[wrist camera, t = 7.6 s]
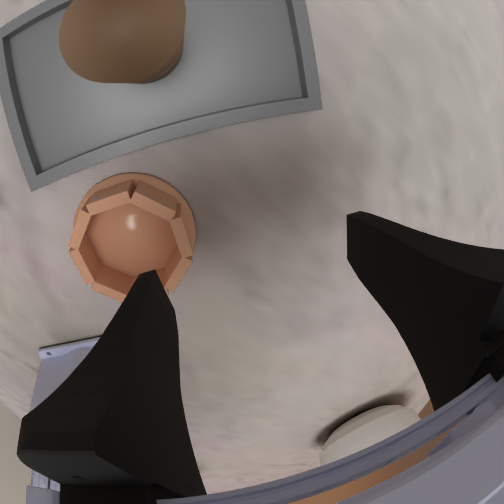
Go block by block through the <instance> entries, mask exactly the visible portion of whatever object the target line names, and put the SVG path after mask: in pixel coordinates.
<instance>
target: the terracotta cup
mask: <svg viewBox="0 0 504 504" xmlns="http://www.w3.org/2000/svg"><path fill="white" fill-rule="evenodd" d="M195 239H196V229H195V222H194V217H193V214H192V211H191V209H190V207H189V205H188V203H187V202H186V200H185V199H184V198H183V196H182V195H181V194H180V193H179V192H178V191H177V190H176V189H175V188H174V187H172V186H171V185H170V184H168V183H167V182H165V181H163V180H161V179H159V178H157V177H154V176H151V175H147V174H142V173H123V174H118V175H114V176H111V177H109V178H106V179H104V180H102V181H101V182H99V183H98V184H96V185H95V186H94V187H93V188H91V189H90V191H89V192H88V193H87V194H86V195H85V197H84V198H83V200H82V201H81V203H80V204H79V207H78V209H77V211H76V215H75V219H74V230H73V233H72V236H71V239H70V242H69V245H68V246H69V247H71V249H70V251H69V253H70V255H71V257H72V259H73V261H74V263H75V265H76V267H77V269H78V270H79V272H80V274H81V276H82V278H83V280H84V281H85V283H86V285H88V284H92V283H93V285H92V288H91V289H92V290H95V291H97V292H99V293H102V294H104V295H106V296H109V297H111V298H114V299H116V300H119V301H121V302H123V301H124V299H125V297H126V296H127V294H128V292H129V291H130V289H131V287H132V285H133V284H134V282H135V280H136V279H137V277H138V276H139V274H141V273H144V272H148V271H151V270H154V269H156V272H157V274H158V276H159V278H160V280H161V283H162V285H163V287H164V289H165V291H166V293H167V295H169V290H171V291H174V290H175V288H176V287H177V285H178V283H179V282H180V280H181V279H182V277H183V275H184V274H185V272H186V271H187V269H188V268H189V266H190V264H191V263H192V255H193V249H194V245H195ZM168 289H169V290H168Z"/></svg>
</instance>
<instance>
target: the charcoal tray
mask: <svg viewBox="0 0 504 504" xmlns="http://www.w3.org/2000/svg"><path fill="white" fill-rule="evenodd" d="M72 1H73V0H46V1H44V2H43V3H41V4H39V5H37V6H35V7H33V8H32V9H30V10H28V11H27V12H25V13H23V14H22V15H20V16H18V17H17V18H15V19H13V20H12V21H10V22H9V23H7V24H6V25H4V26H3V27H1V28H0V93H1V97H2V102H3V106H4V110H5V114H6V118H7V121H8V125H9V128H10V132H11V135H12V139H13V142H14V145H15V148H16V151H17V154H18V157H19V160H20V163H21V166H22V169H23V171H24V174H25V177H26V179H27V182H28V185H29V187H30V190H31V192H32V191H34V190H37V189H39V188H41V187H43V186H45V185H48V184H50V183H52V182H54V181H57V180H59V179H61V178H64V177H66V176H68V175H71V174H73V173H76V172H78V171H81V170H83V169H86V168H88V167H91V166H93V165H96V164H99V163H101V162H104V161H107V160H110V159H112V158H115V157H118V156H121V155H124V154H127V153H130V152H133V151H136V150H139V149H142V148H145V147H148V146H152V145H155V144H158V143H162V142H165V141H168V140H172V139H176V138H179V137H183V136H186V135H190V134H194V133H198V132H202V131H206V130H210V129H214V128H219V127H223V126H227V125H232V124H237V123H241V122H246V121H251V120H257V119H262V118H267V117H273V116H279V115H285V114H292V113H298V112H305V111H313V110H321V109H322V102H321V94H320V86H319V79H318V72H317V65H316V58H315V52H314V46H313V40H312V34H311V29H310V23H309V18H308V13H307V8H306V3H305V0H184V1H185V6H186V22H185V32H184V43H183V52H182V56H181V59H180V61H179V63H178V65H177V66H176V68H175V69H174V70H173V71H172V72H171V73H170V74H169V75H167V76H166V77H164V78H163V79H161V80H159V81H156V82H153V83H148V84H130V83H98V82H93V81H90V80H87V79H85V78H82V77H81V76H79V75H77V74H76V73H75V72H73V71H72V70H71V69H70V68H69V66H68V65H67V64H66V62H65V61H64V59H63V57H62V54H61V52H60V47H59V29H60V25H61V21H62V19H63V16H64V14H65V12H66V10H67V8H68V6H69V5H70V3H71V2H72Z"/></svg>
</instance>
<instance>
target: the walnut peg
mask: <svg viewBox="0 0 504 504" xmlns="http://www.w3.org/2000/svg"><path fill="white" fill-rule="evenodd" d="M185 22H186V6H185V1H184V0H73V1H72V2H71V3H70V5H69V6H68V8H67V10H66V12H65V14H64V16H63V19H62V21H61V25H60V29H59V47H60V52H61V54H62V57H63V59H64V61H65V62H66V64H67V65H68V66H69V68H70V69H71V70H72V71H73V72H75V73H76V74H77V75H79V76H81V77H82V78H85V79H87V80H90V81H93V82H98V83H130V84H148V83H153V82H156V81H159V80H161V79H163V78H164V77H166V76H167V75H169V74H170V73H171V72H172V71H173V70H174V69H175V68H176V66H177V65H178V63H179V61H180V59H181V56H182V52H183V43H184V32H185Z"/></svg>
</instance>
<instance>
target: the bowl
mask: <svg viewBox="0 0 504 504" xmlns="http://www.w3.org/2000/svg"><path fill="white" fill-rule="evenodd" d="M420 420H421V419H420V418H419V416H418V415H417V414H416V412H415V411H414V410H413V409H412V408H405V407H404V406H402V405H384V406H379V407H376V408H373V409H370V410H368V411H366V412H364V413H362V414H359V415H358V416H356V417H354V418H352V419H350V420H349V421H347V422H345V423H344V424H342V425H341V426H340V427H338V428H337V429H336V430H335V431H334V432H333V433H332V434H331V436H330V437H329V438H328V440H327V441H326V443H325V444H324V446H323V450H322V453H321V454H320V456H319V459H320V463H321V466H323V465H326V464H328V463H331V462H334V461H336V460H339V459H341V458H344V457H346V456H349V455H351V454H353V453H356V452H358V451H360V450H363V449H365V448H367V447H369V446H372V445H374V444H376V443H378V442H380V441H382V440H384V439H386V438H388V437H390V436H392V435H394V434H396V433H398V432H400V431H402V430H403V429H405V428H407V427H409V426H411V425H413V424H414V423H416V422H418V421H420Z"/></svg>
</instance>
